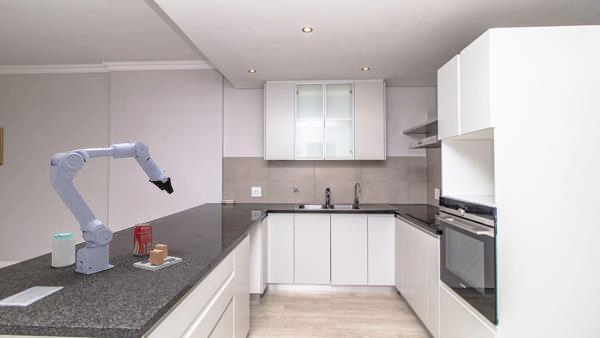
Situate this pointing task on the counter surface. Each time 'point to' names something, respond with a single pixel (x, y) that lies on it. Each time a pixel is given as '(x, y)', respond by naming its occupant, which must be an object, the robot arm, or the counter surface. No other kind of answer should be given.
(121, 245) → the counter surface
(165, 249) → the tab far
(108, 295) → the counter surface
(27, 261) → the counter surface
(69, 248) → the white lidded container
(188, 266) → the counter surface
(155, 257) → the tab near
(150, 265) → the switch bank
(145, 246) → the soda can
